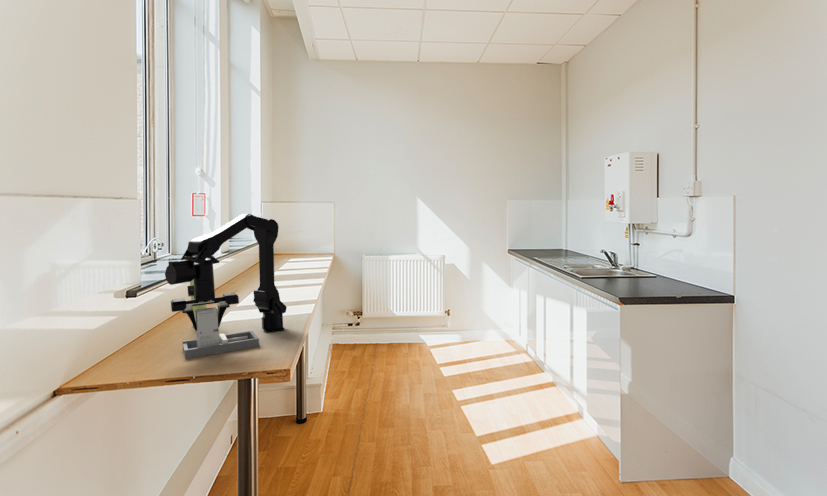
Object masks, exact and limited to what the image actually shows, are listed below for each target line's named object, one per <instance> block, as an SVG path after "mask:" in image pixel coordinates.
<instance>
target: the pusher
mask: <svg viewBox="0 0 827 496" xmlns="http://www.w3.org/2000/svg"><path fill="white" fill-rule="evenodd" d="M225 335H226V334H225V333H224V332H222V333H219V343H220V344H222V343H229V342H235V341H241V340H247V339H248V336H244V337H237V338H231V339H227V338H226V336H225Z"/></svg>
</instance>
